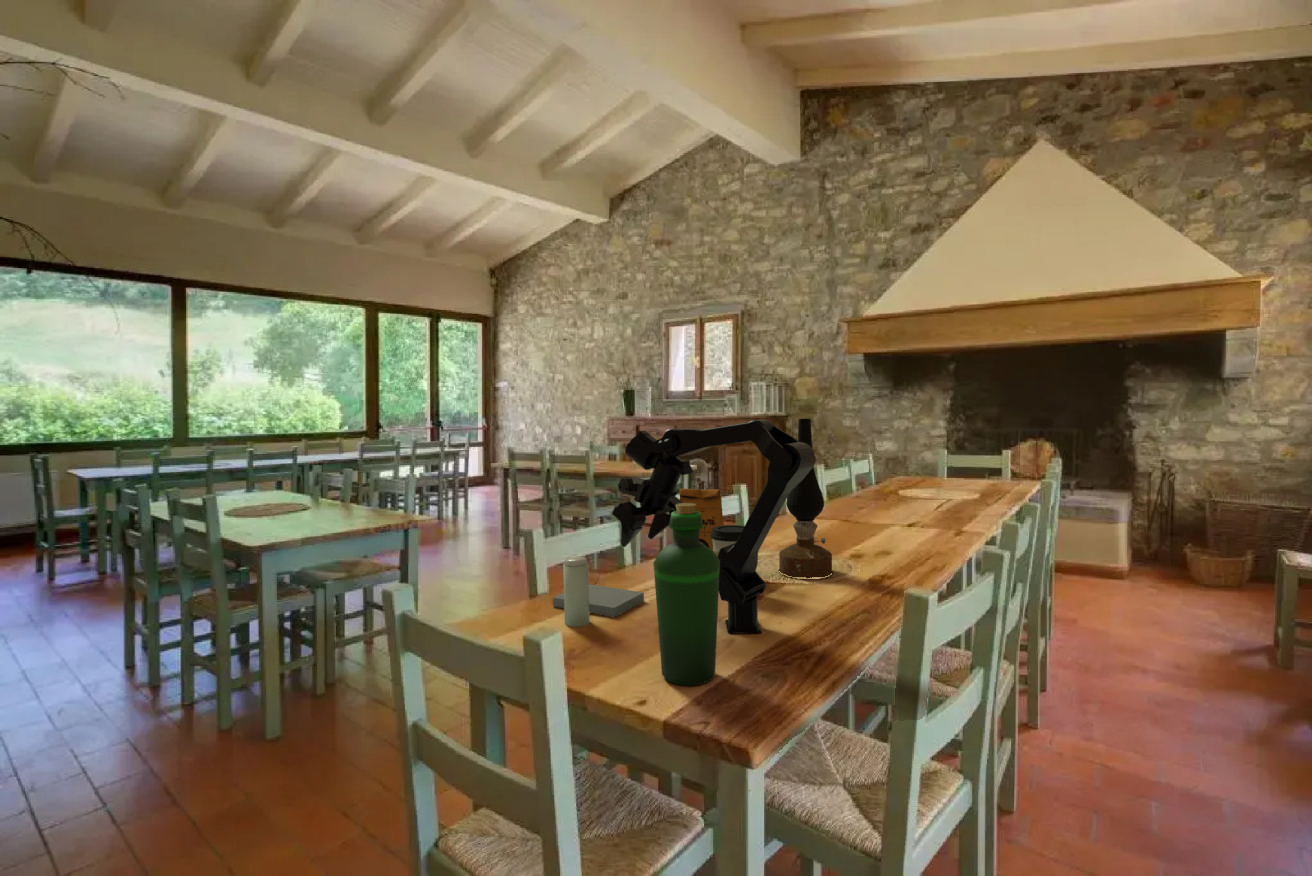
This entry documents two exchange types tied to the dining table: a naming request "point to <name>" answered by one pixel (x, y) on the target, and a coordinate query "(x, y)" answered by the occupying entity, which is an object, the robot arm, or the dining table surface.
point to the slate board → (607, 600)
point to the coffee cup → (725, 536)
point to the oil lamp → (805, 524)
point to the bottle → (687, 601)
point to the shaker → (576, 591)
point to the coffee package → (705, 510)
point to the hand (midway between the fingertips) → (636, 541)
